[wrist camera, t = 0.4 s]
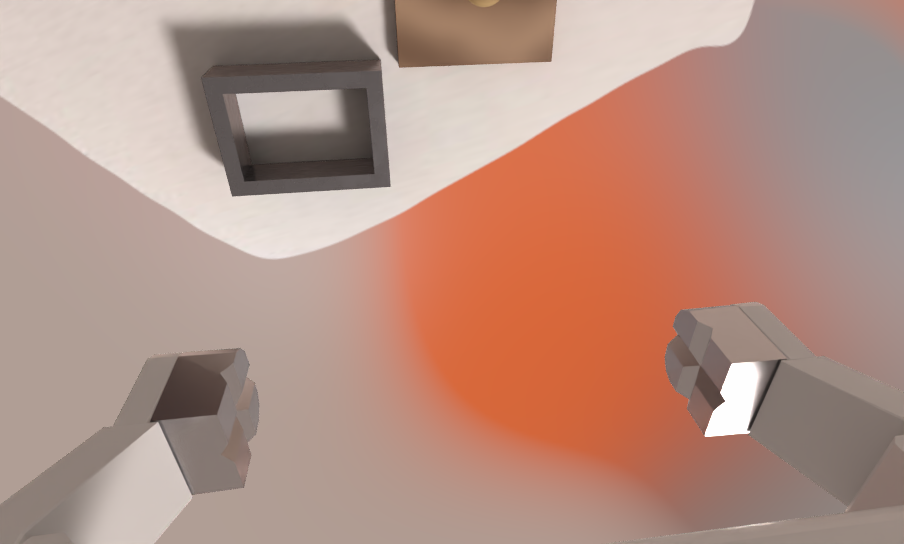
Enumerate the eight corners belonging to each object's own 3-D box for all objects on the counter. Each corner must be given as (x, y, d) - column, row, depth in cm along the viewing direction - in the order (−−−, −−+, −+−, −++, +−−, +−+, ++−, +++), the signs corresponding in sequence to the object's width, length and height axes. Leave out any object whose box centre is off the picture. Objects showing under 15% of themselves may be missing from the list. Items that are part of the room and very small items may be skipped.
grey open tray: (212, 66, 48) (201, 77, 44) (380, 59, 49) (381, 70, 46) (240, 178, 54) (232, 196, 51) (389, 170, 55) (390, 186, 52)
